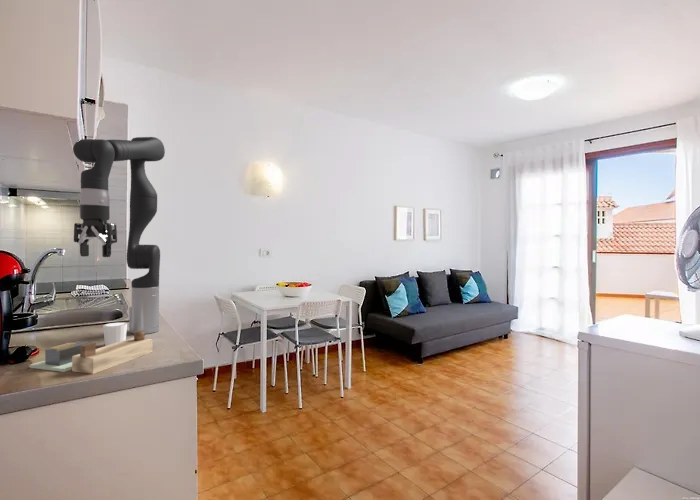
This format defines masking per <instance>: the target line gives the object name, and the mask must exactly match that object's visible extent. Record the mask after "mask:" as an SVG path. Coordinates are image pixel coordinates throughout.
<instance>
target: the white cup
mask: <svg viewBox="0 0 700 500" xmlns="http://www.w3.org/2000/svg"><path fill="white" fill-rule="evenodd" d="M102 328H103V329H102V330H103V338H104V339H103V340H104V347H105V346H108V345H111V344H114V343H118V342H121V341H124V340H127V330H128V322H123V321H122V322H110V323H106V324H103V325H102Z"/></svg>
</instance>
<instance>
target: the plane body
mask: <svg viewBox="0 0 700 500" xmlns="http://www.w3.org/2000/svg"><path fill="white" fill-rule="evenodd" d="M145 335H146V334H145V331H135V332H134V334H133V337H132V338H128V339H126V340H124V341H121V342H118V343H114V344H111V345H108V346H105V345H104V346H102V347H99V348H96V345H97V344H96V342H91V343H88V344H85V345H81V346H80V354H78V355H75V356H72V369H71V370H72V371H71V372H76V373H83V374H90V375H91V374H92V375H94V374H96V373H97V374H98V373H99V372H102V371H105V370H107V369H110V368H114V367H117V366H119V365H121V364H124V363H127V362H130V361H132V360H135V359H137V358H140V357H143V356H146V355H149V354H150V353H153V349H154V347H153V346H154V345H153V343H154V342H153V339H152V338H145Z"/></svg>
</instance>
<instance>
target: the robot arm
mask: <svg viewBox="0 0 700 500" xmlns="http://www.w3.org/2000/svg"><path fill="white" fill-rule="evenodd" d="M79 140H80V141H79ZM79 140H78V141H79V142H77V141H75V143H74V144H73V147H72V151H73V154H74V156H75V157H76V158H77V159H78V160H79V161H81V162H83V163H88V164H89V163H91V164H93V166H92V167H91V168H89V169H84V170H82V171H81V173H80V192H79V217H80V219H81V220H82V221H83V222H82V223H81V222H80V223H79V222H75V223H74V226H73V229H74V230H73V242H74V243H77V244H78V245H79V253H80V257H89V255H90V246H89V243H90V242H91V240H93V239H94V238H97V239H98V240H100V242H101V243H102V249H101V252H102V257H103V258H110V257H111V255H112V245H113V244H115V243H118V231H117V223H110V222H108V221H109V220H110V218H111V217H110V195H109V194H110V193H109V178H110V177H109V176H110V173H111V170H112V167H113V164H114V162H123V161H129V162H130V163H129V164H130V165H129V166H130V190H129V191H130V194H129V228H128V229H129V231H128V240H127V247H126V248H127V249H126V264H127V267H128V268H129V269H131V270H144V269H145V270H147V269H148V272H147V273H145V274H144V275H142V276H139V277H136V278H134V279H132V280H131V306H130V307H129V309H128V311H129V312H128V314H129V315H128V316H129V318H128V319H129V320H128V323H129V324H128V325H129V326H128V328H129V329H128V330H129V333H132V334H133V335H134V332H135V331H145V335H147V334H152V333H156V332H159V331H160V266H161V250H160V247H159V246H158V245H157V244H140V241H141V238H142V237H141V236H142V234H143V232H144V231H145V229H146V228H147V227H148V225H149V224H150V222H152V220H153V219H154V217H155V216H156V214H157V212H158V193H157V191H156V189H155V188H154V186H153V184H152V183H151V181H150V180H149V178H148V177H147V174H146V169H145V166H146V165H145V164H146V162H159V161H161V160H163V158H164V157H165V151H166V149H165V146H164V143H163V142H162V140H161V139H159V138H158V137H154V136H139V137H133V138H131V139H130V140H127V139H103V138H102V139H94V138H92V139H91V138H90V139H89V138H88V139H87V138H83V139H79Z"/></svg>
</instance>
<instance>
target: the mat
mask: <svg viewBox="0 0 700 500" xmlns="http://www.w3.org/2000/svg"><path fill="white" fill-rule="evenodd" d="M29 369H37V370H45V371H53V372H63V373H65V372H68V371H71V370H72V362H70V363H67V364H64V365H61V366H56V365H48V364H45V360H42V361H39V362H38V361H37V362H35V363H32V364H29Z"/></svg>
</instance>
